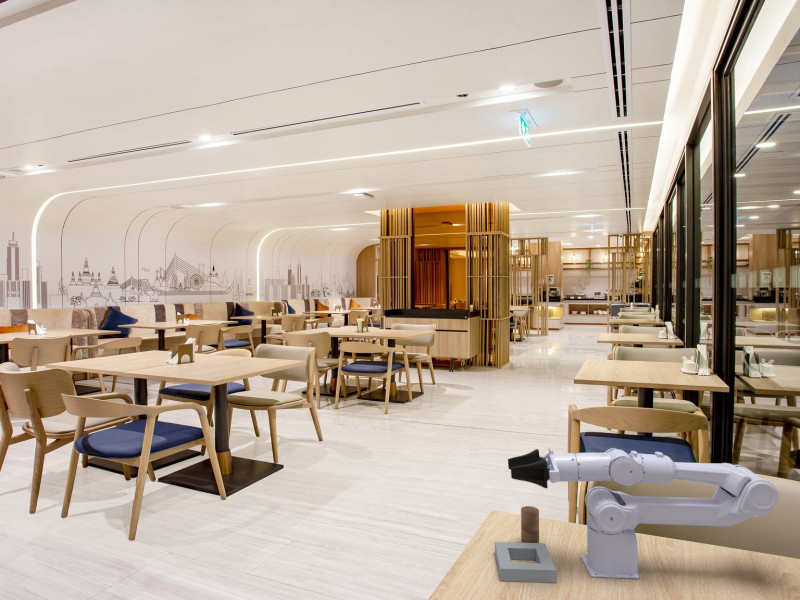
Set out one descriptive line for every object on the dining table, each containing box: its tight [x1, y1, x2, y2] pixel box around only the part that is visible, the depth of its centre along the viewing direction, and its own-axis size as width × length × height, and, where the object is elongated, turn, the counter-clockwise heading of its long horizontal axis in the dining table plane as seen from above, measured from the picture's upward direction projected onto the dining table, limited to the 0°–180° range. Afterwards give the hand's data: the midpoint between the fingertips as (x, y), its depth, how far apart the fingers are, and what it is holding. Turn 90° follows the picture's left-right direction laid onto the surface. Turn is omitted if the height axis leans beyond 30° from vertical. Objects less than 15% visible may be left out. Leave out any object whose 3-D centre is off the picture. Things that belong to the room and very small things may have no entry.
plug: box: [520, 505, 540, 543], centre depth 118 cm, size 4×4×8 cm
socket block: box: [494, 541, 557, 584], centre depth 108 cm, size 11×11×2 cm
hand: (509, 468), depth 110 cm, fingers open, 7 cm apart
